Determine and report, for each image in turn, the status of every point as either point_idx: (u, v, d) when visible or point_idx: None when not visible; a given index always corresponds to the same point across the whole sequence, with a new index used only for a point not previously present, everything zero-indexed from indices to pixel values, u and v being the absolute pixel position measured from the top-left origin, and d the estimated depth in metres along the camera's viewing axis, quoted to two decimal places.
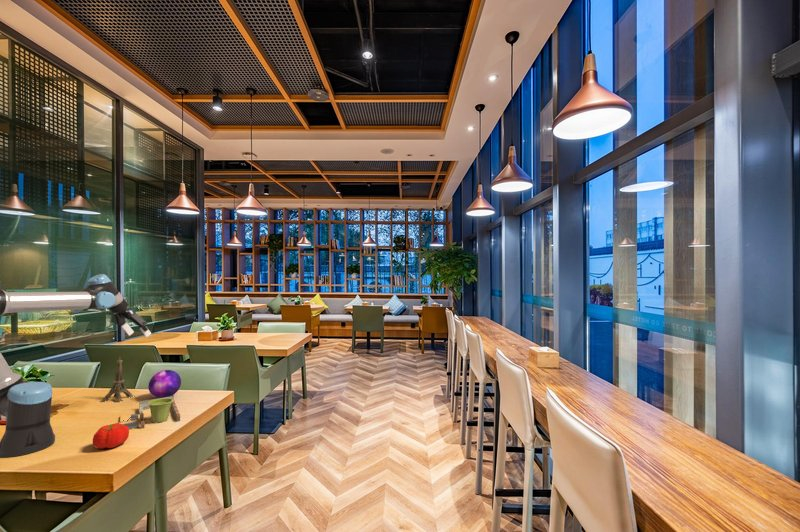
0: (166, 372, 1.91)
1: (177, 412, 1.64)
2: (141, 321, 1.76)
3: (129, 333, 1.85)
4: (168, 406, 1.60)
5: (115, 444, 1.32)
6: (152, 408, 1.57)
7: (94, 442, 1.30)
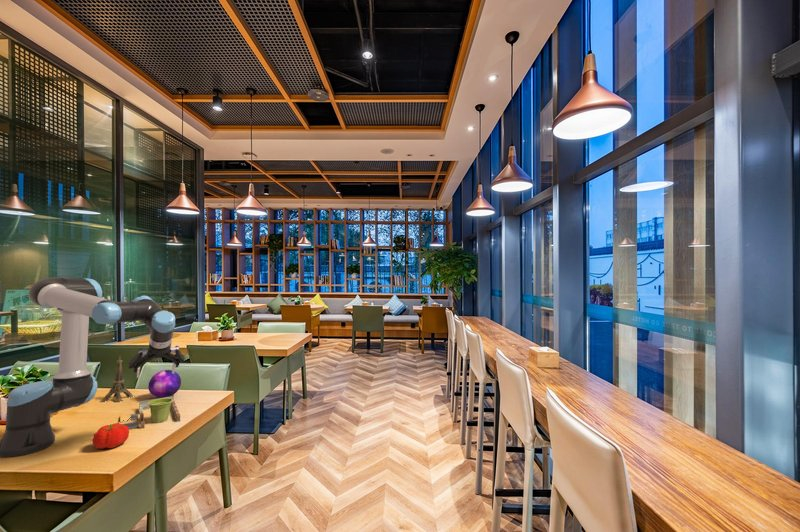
0: (166, 372, 1.91)
1: (177, 412, 1.64)
2: (131, 362, 1.43)
3: (172, 368, 1.57)
4: (168, 406, 1.60)
5: (115, 444, 1.32)
6: (152, 408, 1.57)
7: (94, 442, 1.30)
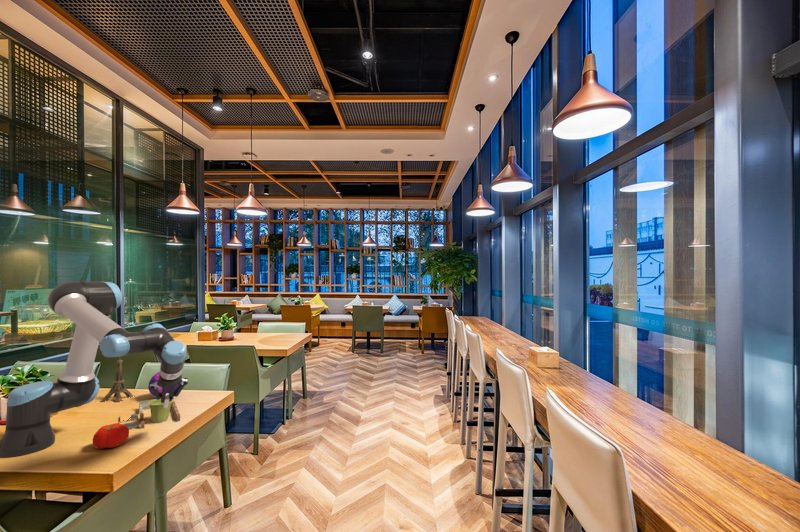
0: None
1: (177, 412, 1.64)
2: None
3: None
4: (168, 406, 1.60)
5: (115, 444, 1.32)
6: (152, 408, 1.57)
7: (94, 442, 1.30)
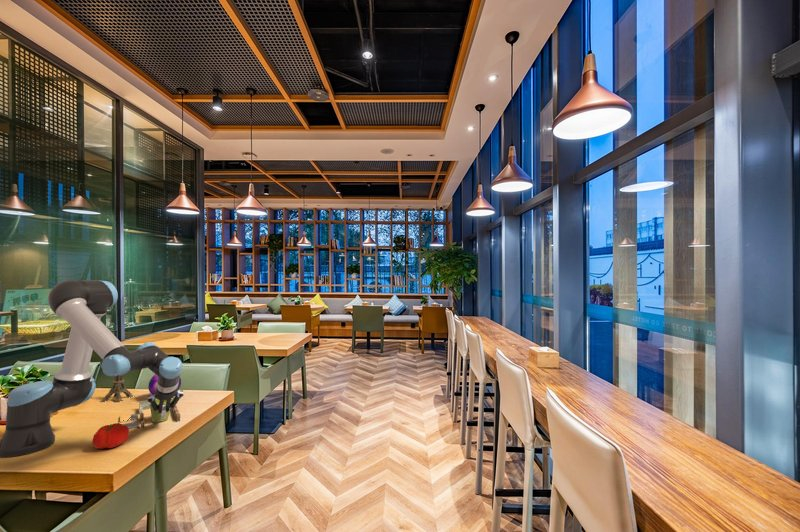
0: None
1: (177, 412, 1.64)
2: None
3: None
4: None
5: (115, 444, 1.32)
6: (152, 407, 1.57)
7: (94, 442, 1.30)
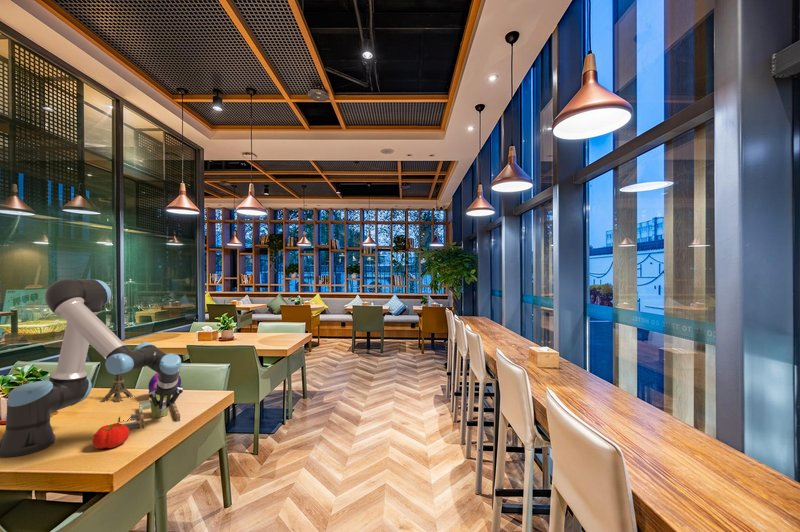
0: None
1: (177, 412, 1.64)
2: None
3: None
4: None
5: (115, 444, 1.32)
6: (153, 403, 1.63)
7: (94, 442, 1.30)
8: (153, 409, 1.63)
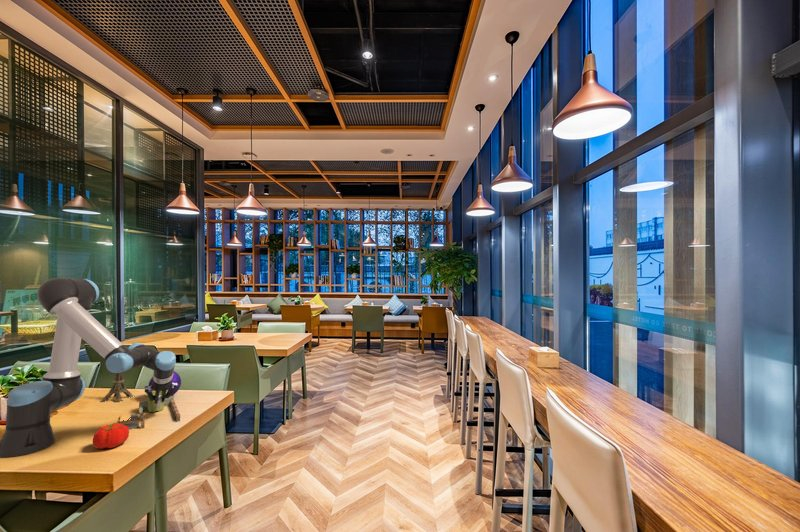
0: None
1: (177, 412, 1.64)
2: None
3: None
4: None
5: (115, 444, 1.32)
6: None
7: (94, 442, 1.30)
8: (149, 404, 1.70)
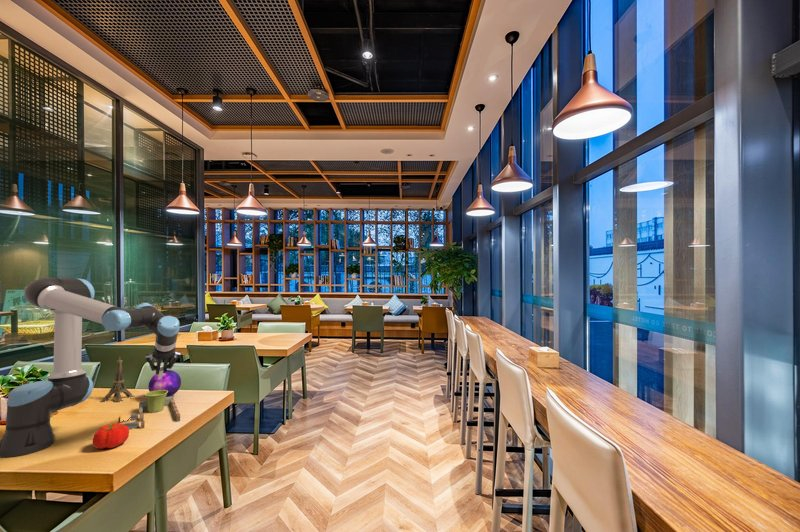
0: (166, 372, 1.91)
1: (177, 412, 1.64)
2: None
3: None
4: (164, 397, 1.73)
5: (115, 444, 1.32)
6: (149, 399, 1.69)
7: (94, 442, 1.30)
8: (149, 404, 1.70)
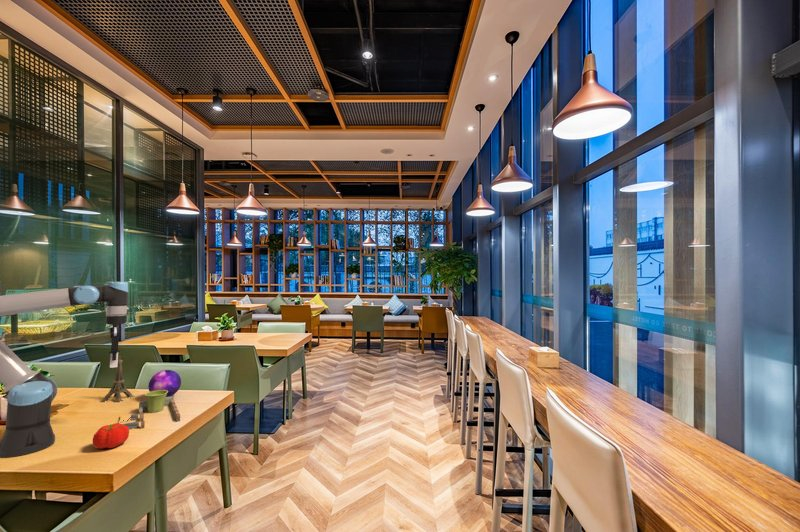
0: (166, 372, 1.91)
1: (177, 412, 1.64)
2: (114, 347, 1.57)
3: None
4: (164, 397, 1.73)
5: (115, 444, 1.32)
6: (149, 399, 1.69)
7: (94, 442, 1.30)
8: (149, 404, 1.70)
